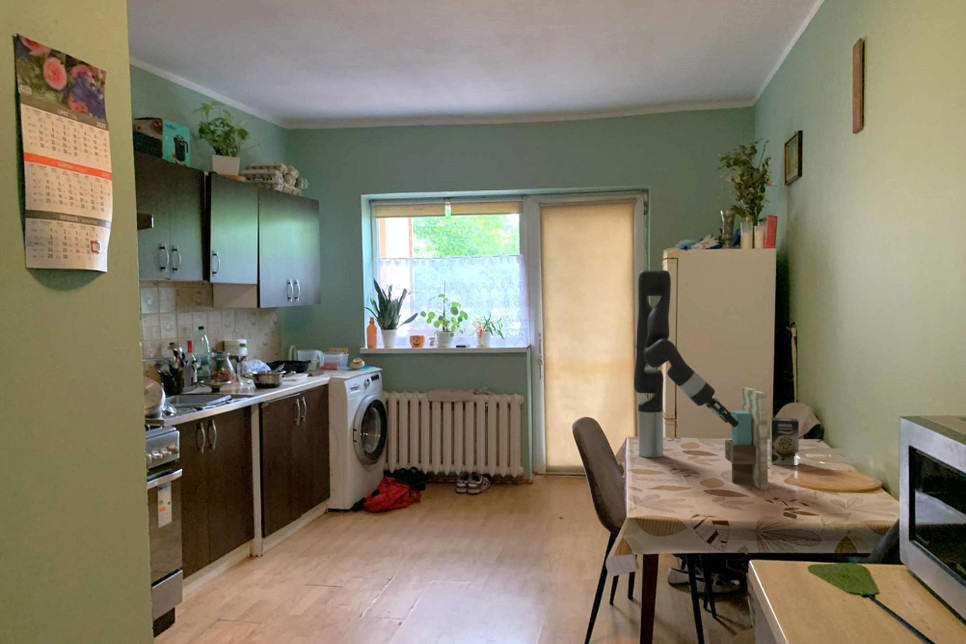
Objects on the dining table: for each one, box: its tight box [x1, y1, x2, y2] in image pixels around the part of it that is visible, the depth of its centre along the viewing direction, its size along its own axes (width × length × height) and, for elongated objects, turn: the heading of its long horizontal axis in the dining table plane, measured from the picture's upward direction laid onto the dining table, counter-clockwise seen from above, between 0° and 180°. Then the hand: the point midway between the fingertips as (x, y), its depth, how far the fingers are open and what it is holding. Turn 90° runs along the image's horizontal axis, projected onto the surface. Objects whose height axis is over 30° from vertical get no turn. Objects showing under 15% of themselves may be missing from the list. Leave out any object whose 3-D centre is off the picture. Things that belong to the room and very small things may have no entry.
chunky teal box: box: [731, 410, 751, 445], centre depth 217 cm, size 6×4×15 cm
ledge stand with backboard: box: [724, 386, 769, 491], centre depth 217 cm, size 18×9×30 cm, turn 176°
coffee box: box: [769, 417, 800, 467], centre depth 242 cm, size 9×6×16 cm
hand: (732, 423), depth 217 cm, fingers open, 8 cm apart
